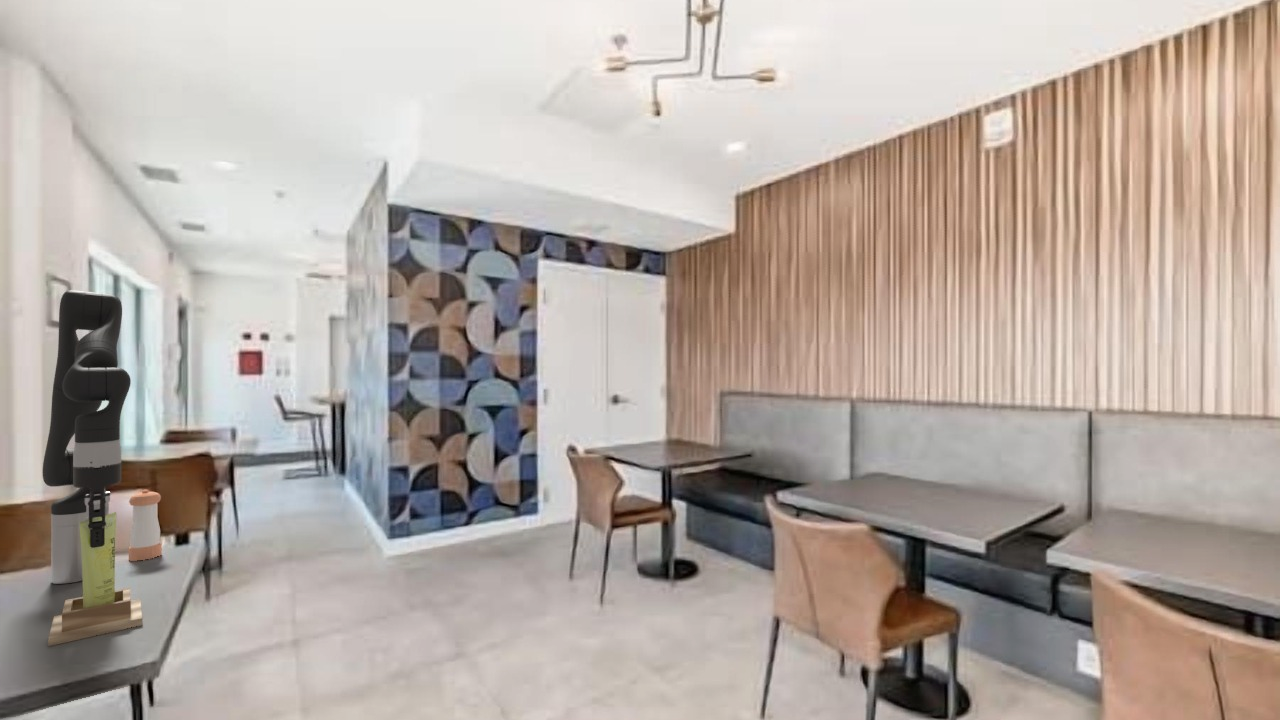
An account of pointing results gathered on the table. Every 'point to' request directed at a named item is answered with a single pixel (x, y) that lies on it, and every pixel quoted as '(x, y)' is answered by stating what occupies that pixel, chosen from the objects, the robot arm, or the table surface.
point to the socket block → (95, 618)
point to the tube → (98, 564)
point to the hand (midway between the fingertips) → (97, 543)
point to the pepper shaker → (145, 526)
